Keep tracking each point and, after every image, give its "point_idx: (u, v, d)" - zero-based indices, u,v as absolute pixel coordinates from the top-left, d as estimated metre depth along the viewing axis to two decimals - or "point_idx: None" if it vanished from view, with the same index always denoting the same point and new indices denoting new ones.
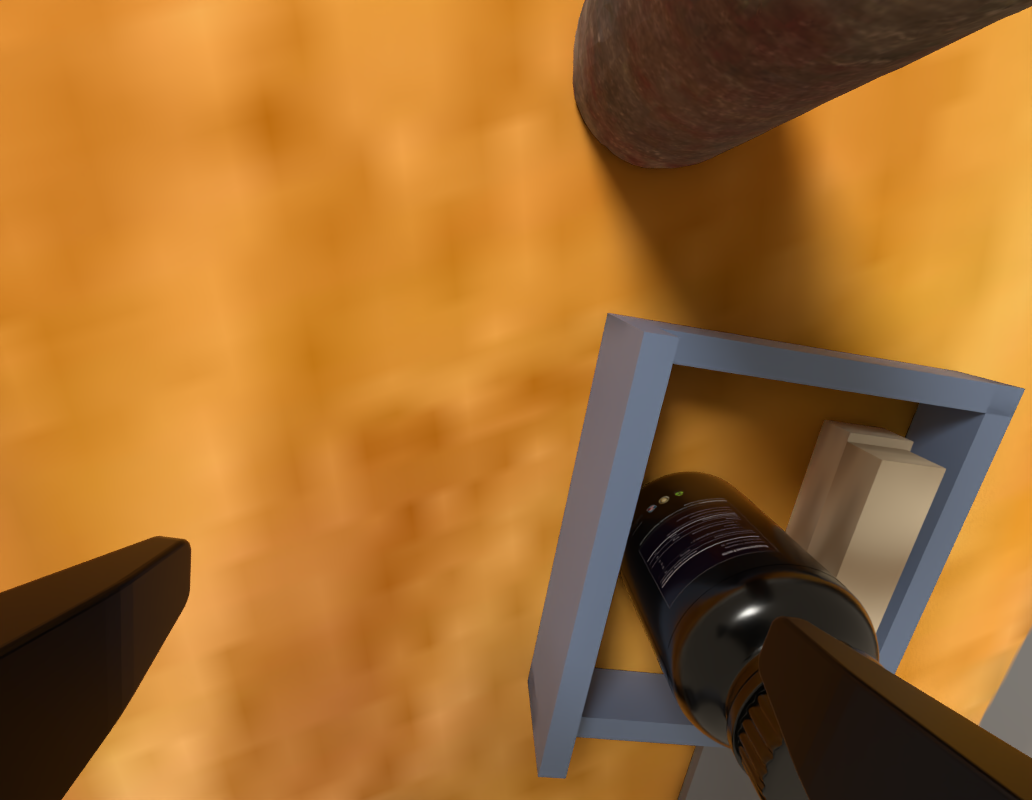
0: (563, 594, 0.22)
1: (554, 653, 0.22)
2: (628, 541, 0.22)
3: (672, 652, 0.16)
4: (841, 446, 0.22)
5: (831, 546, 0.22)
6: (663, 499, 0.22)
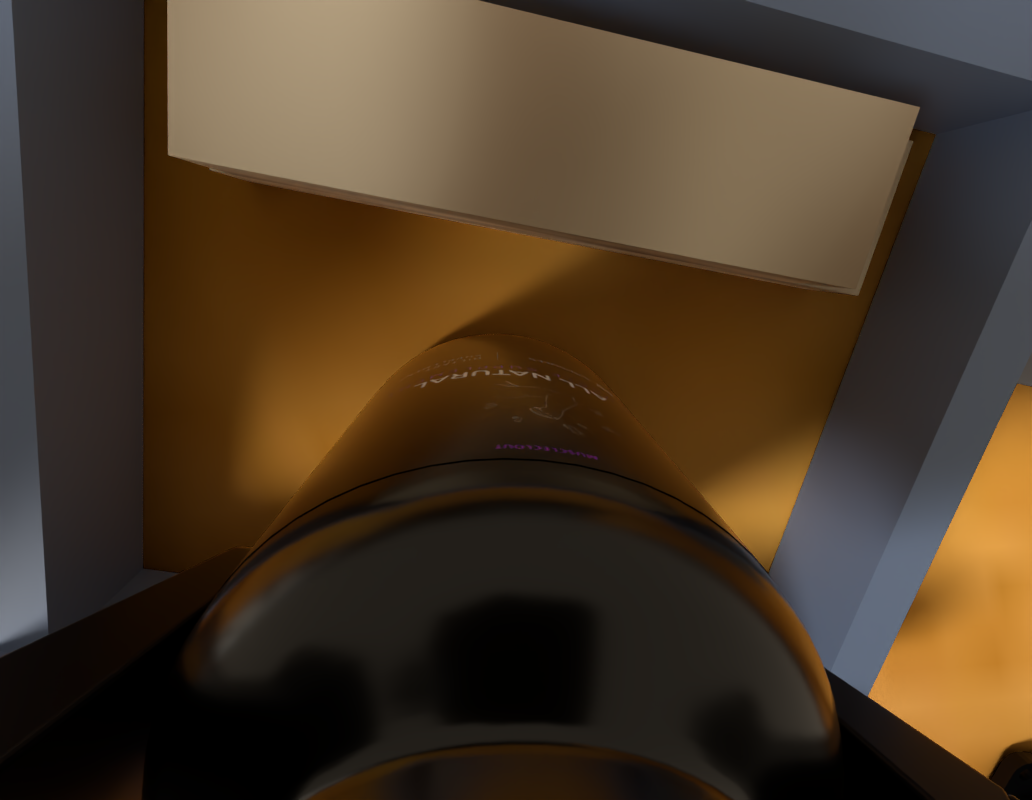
0: None
1: None
2: None
3: None
4: (255, 179, 0.10)
5: (469, 216, 0.09)
6: None
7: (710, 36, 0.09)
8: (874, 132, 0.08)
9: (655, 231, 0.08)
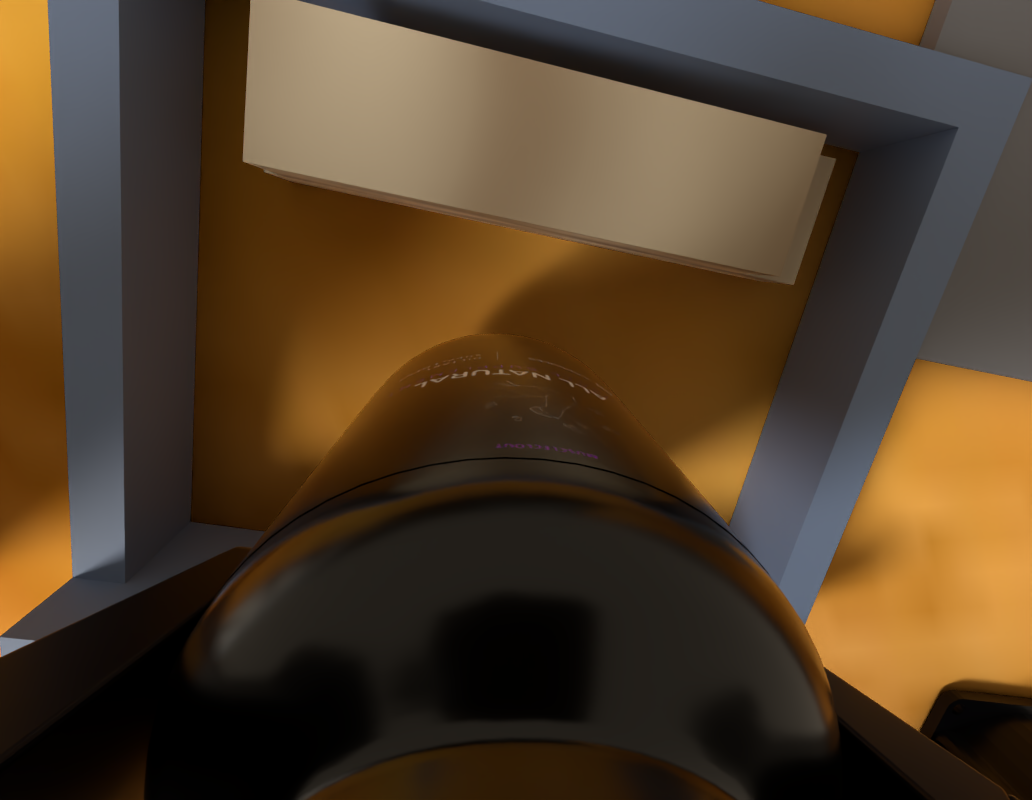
0: None
1: None
2: None
3: None
4: (299, 180, 0.12)
5: (474, 213, 0.11)
6: None
7: (663, 77, 0.12)
8: (791, 153, 0.10)
9: (621, 227, 0.10)
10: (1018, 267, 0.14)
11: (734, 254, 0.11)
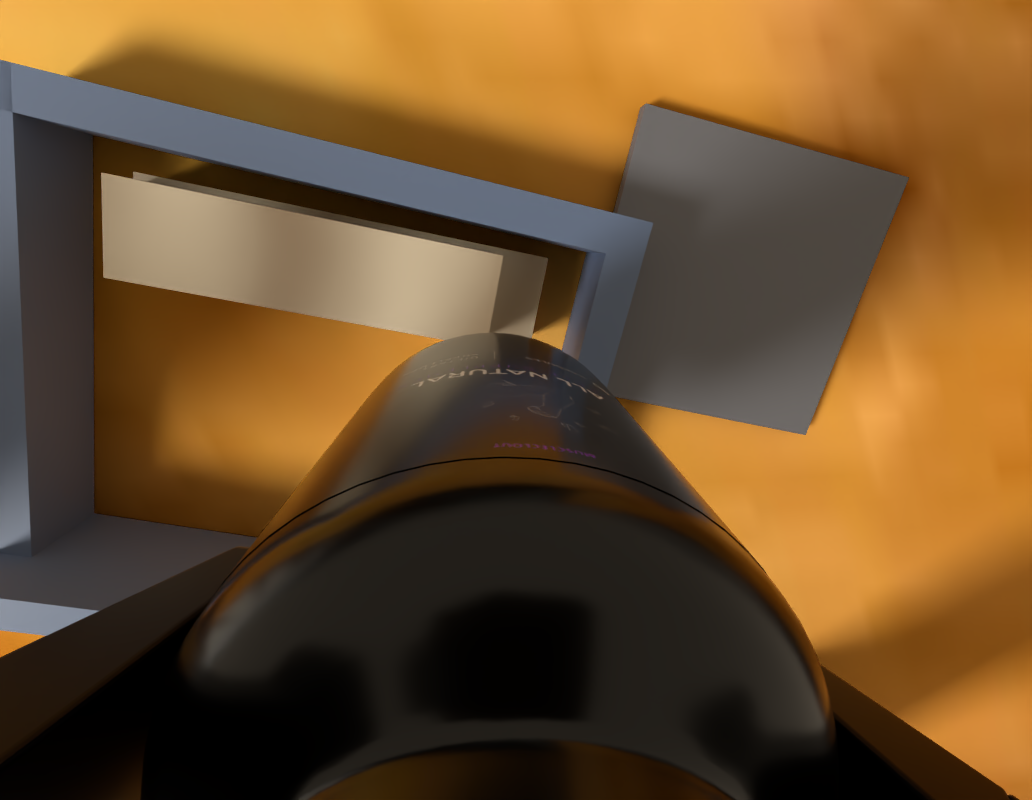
0: None
1: None
2: None
3: None
4: None
5: None
6: None
7: (412, 209, 0.16)
8: (480, 267, 0.15)
9: (368, 316, 0.15)
10: (710, 337, 0.19)
11: (451, 333, 0.16)
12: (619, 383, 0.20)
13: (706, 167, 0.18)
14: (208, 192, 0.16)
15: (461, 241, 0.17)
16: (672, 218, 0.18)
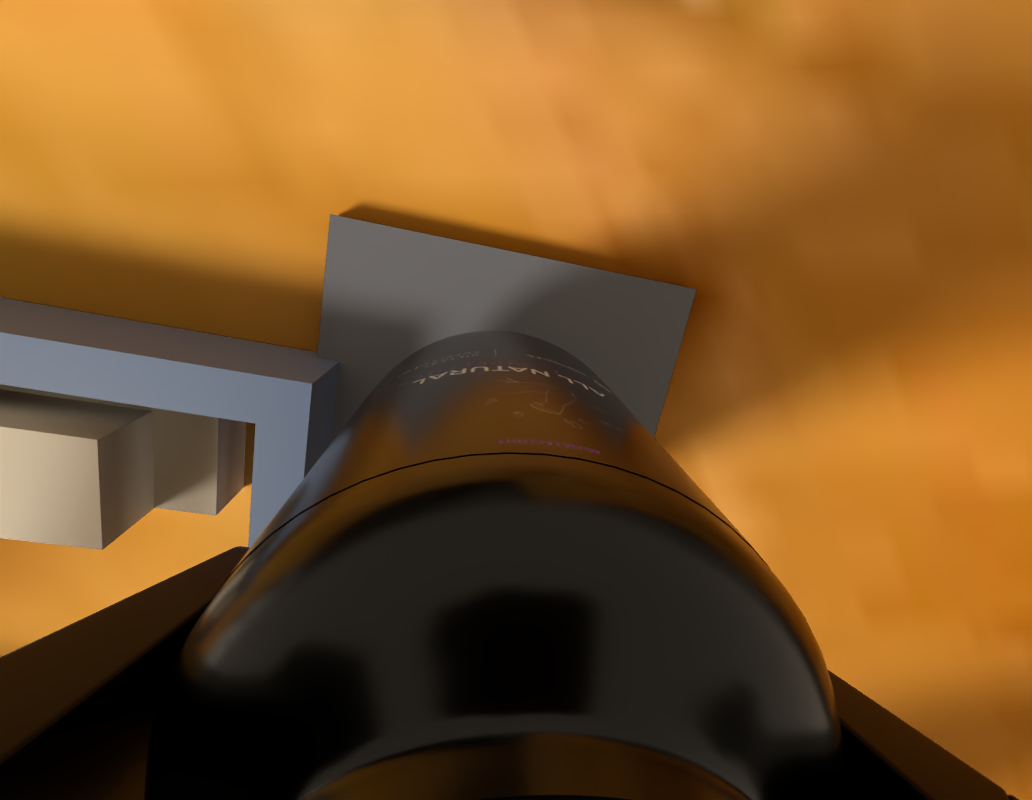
0: None
1: None
2: None
3: None
4: None
5: None
6: None
7: None
8: (69, 455, 0.11)
9: None
10: None
11: (48, 535, 0.12)
12: None
13: (426, 288, 0.14)
14: None
15: None
16: (391, 350, 0.14)
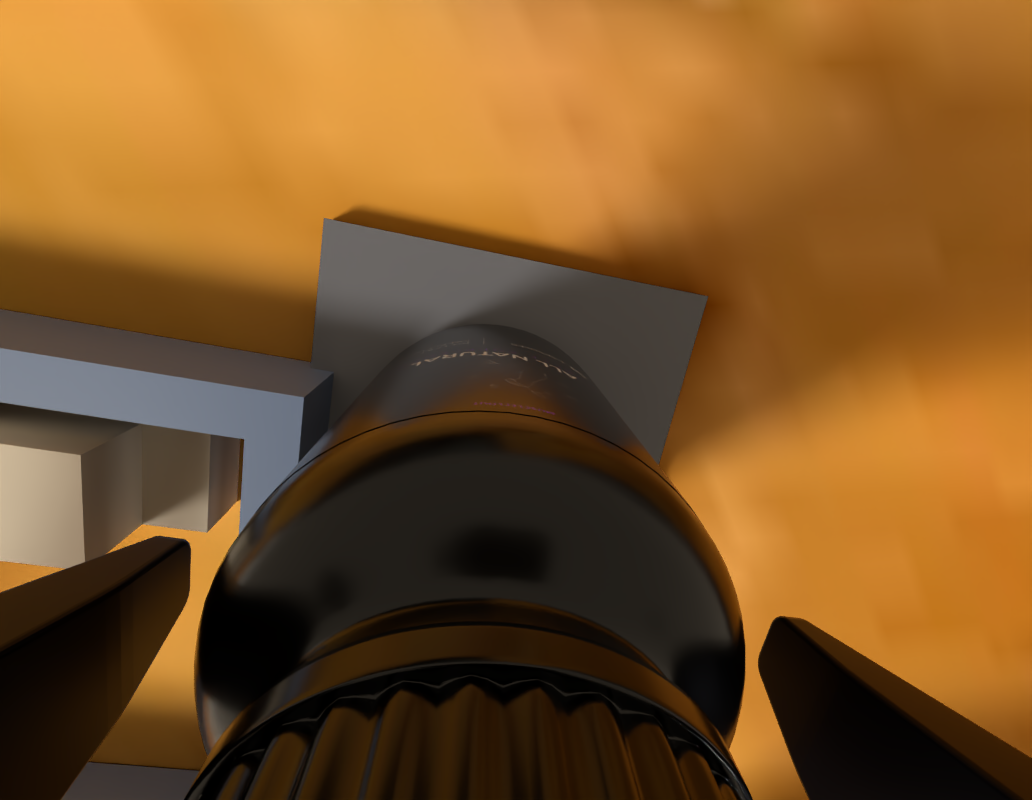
0: None
1: None
2: None
3: None
4: None
5: None
6: None
7: None
8: (50, 471, 0.11)
9: None
10: None
11: (28, 555, 0.11)
12: None
13: (424, 295, 0.13)
14: None
15: None
16: (389, 361, 0.14)
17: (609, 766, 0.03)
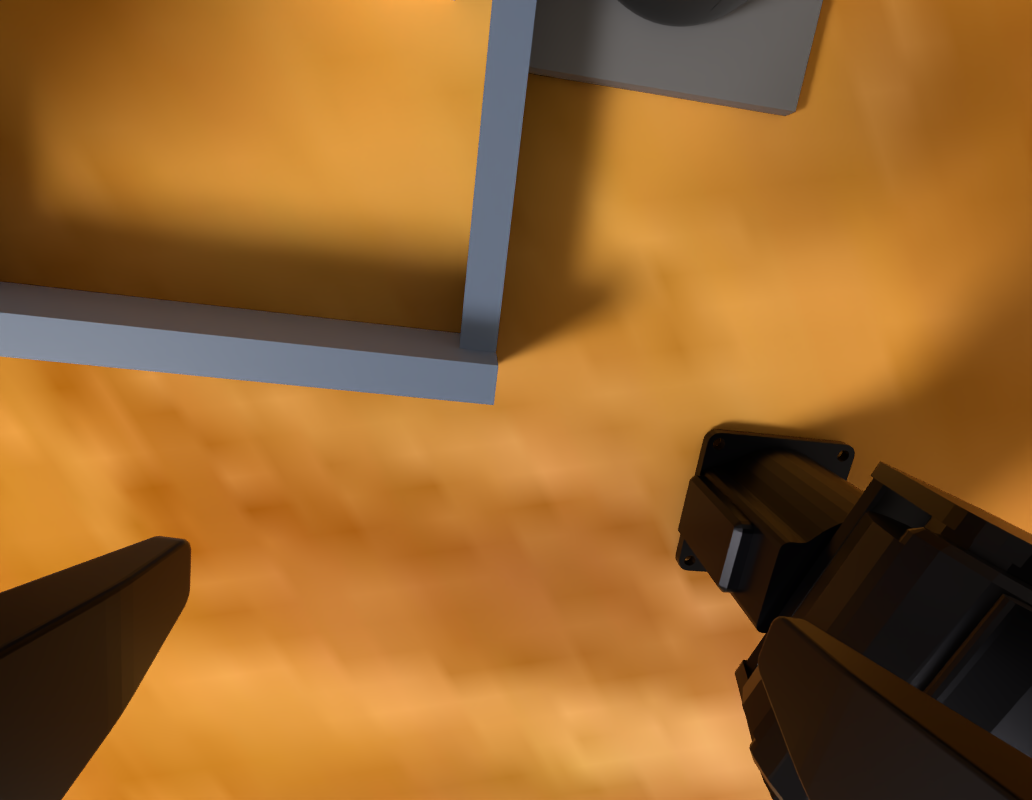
0: None
1: None
2: None
3: None
4: None
5: None
6: None
7: None
8: None
9: None
10: None
11: None
12: (563, 53, 0.17)
13: None
14: None
15: None
16: None
17: None
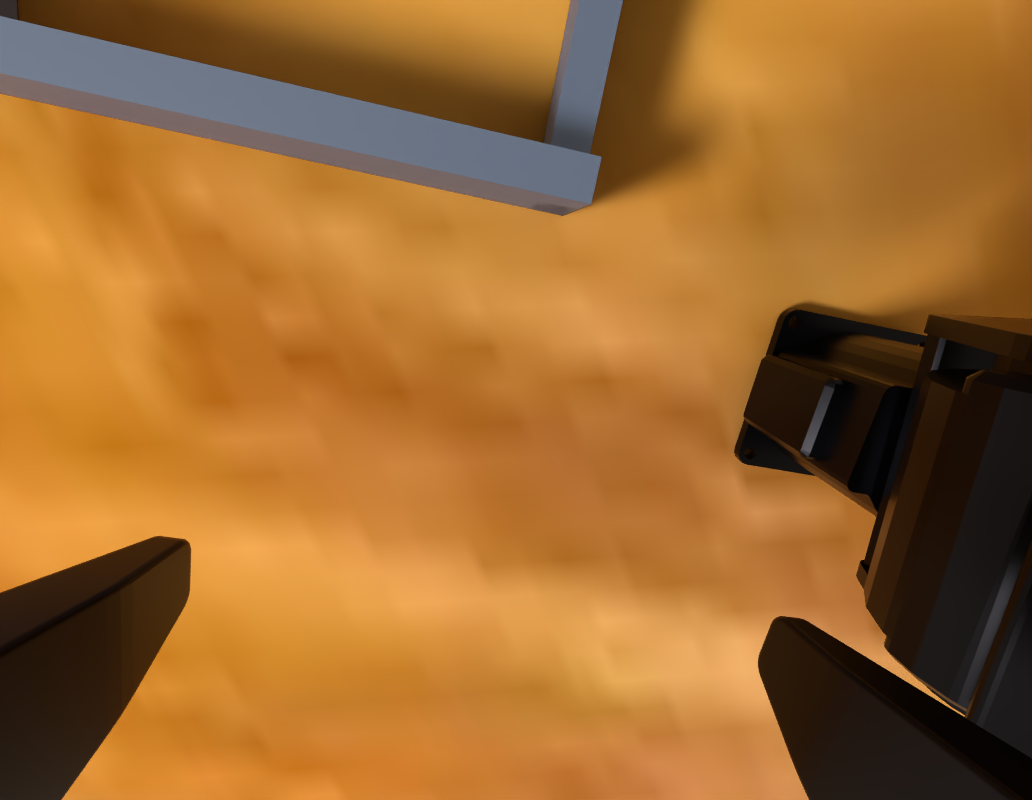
0: (333, 157, 0.15)
1: (415, 172, 0.15)
2: None
3: None
4: None
5: None
6: None
7: None
8: None
9: None
10: None
11: None
12: None
13: None
14: None
15: None
16: None
17: None
